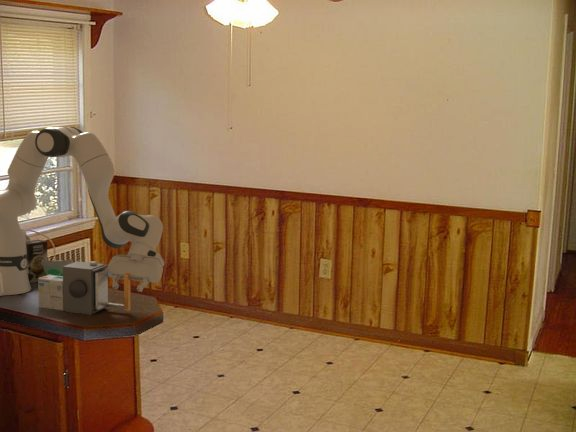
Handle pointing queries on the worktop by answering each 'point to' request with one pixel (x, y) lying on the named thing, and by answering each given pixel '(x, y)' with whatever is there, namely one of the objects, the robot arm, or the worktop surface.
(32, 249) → the coffee box
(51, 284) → the light bulb box
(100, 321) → the worktop surface
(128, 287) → the side door
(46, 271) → the food container
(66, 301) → the camera body
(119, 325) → the worktop surface
